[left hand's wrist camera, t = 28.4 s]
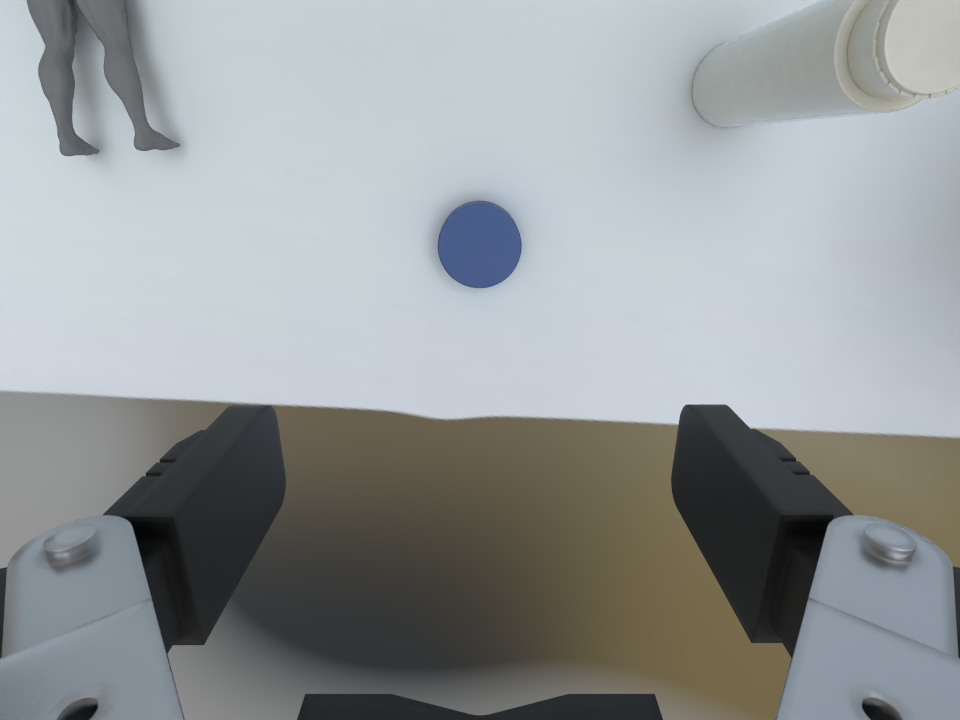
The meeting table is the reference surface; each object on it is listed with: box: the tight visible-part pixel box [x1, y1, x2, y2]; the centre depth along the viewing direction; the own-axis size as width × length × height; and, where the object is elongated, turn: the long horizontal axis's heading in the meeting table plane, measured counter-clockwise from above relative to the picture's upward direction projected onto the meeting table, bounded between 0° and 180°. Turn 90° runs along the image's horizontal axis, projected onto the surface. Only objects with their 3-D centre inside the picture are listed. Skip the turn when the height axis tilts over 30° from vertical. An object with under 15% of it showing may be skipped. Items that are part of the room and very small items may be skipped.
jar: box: [692, 0, 960, 127], centre depth 25 cm, size 5×5×16 cm
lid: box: [438, 201, 521, 288], centre depth 35 cm, size 5×5×2 cm
